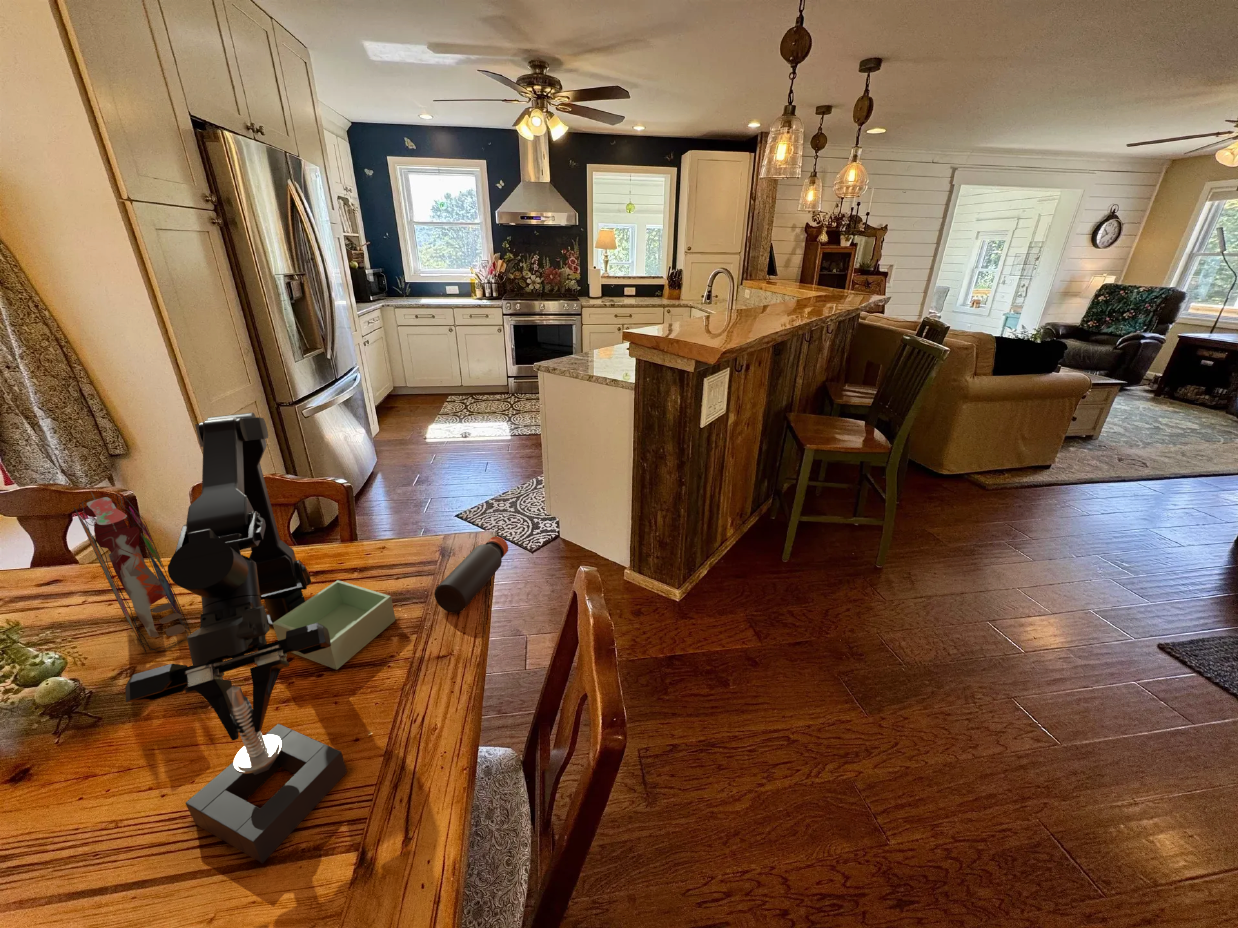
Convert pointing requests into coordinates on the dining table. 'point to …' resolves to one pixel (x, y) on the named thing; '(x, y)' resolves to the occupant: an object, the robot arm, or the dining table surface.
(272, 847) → the gray rectangular frame
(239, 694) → the screw
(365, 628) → the parts bin
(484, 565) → the bottle
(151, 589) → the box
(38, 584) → the dining table surface
